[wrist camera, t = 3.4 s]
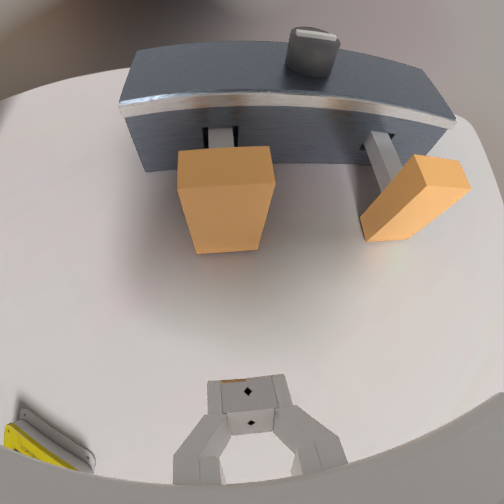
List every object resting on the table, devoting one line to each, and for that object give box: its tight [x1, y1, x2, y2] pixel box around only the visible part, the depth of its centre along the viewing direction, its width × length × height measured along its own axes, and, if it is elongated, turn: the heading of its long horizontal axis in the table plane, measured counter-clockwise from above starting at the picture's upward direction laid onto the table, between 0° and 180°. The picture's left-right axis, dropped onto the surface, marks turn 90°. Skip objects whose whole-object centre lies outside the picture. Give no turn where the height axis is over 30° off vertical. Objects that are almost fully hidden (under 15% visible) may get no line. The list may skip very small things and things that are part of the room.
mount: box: [119, 41, 457, 172], centre depth 24 cm, size 8×30×10 cm, turn 96°
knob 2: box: [360, 131, 471, 242], centre depth 23 cm, size 14×5×10 cm, turn 6°
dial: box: [285, 27, 340, 77], centre depth 18 cm, size 4×4×3 cm
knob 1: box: [177, 126, 276, 254], centre depth 21 cm, size 14×5×10 cm, turn 6°
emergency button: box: [4, 408, 96, 475], centre depth 13 cm, size 9×4×15 cm
